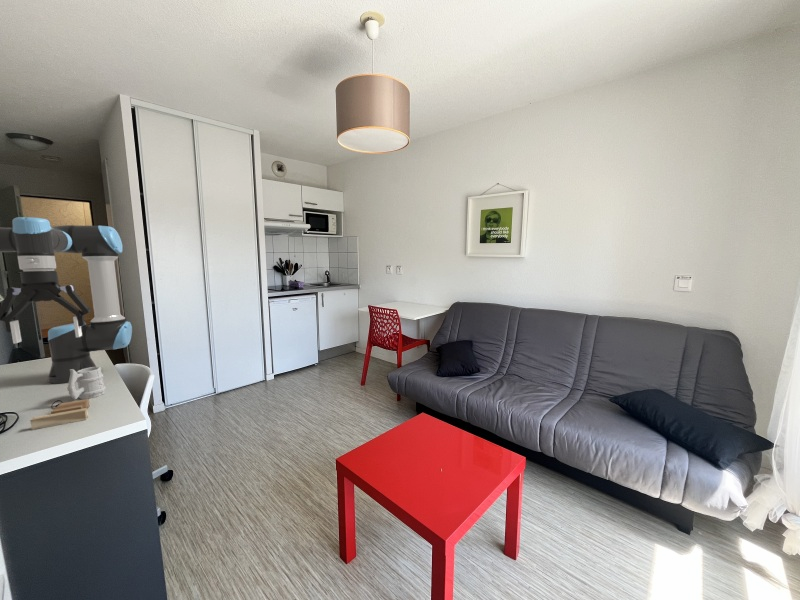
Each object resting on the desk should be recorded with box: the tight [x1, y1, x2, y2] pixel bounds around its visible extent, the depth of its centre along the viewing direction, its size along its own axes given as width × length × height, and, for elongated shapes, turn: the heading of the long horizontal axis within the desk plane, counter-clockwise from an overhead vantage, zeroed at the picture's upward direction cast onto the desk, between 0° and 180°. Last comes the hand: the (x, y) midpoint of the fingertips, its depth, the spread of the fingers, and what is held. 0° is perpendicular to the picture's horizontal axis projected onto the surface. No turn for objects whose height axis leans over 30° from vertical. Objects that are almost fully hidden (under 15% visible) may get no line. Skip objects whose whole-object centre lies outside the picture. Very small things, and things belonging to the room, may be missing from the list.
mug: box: [67, 366, 107, 401], centre depth 118 cm, size 8×12×12 cm, turn 0°
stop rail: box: [29, 408, 89, 430], centre depth 99 cm, size 2×12×3 cm, turn 118°
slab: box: [50, 398, 90, 414], centre depth 106 cm, size 7×7×3 cm
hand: (49, 339), depth 100 cm, fingers open, 13 cm apart
